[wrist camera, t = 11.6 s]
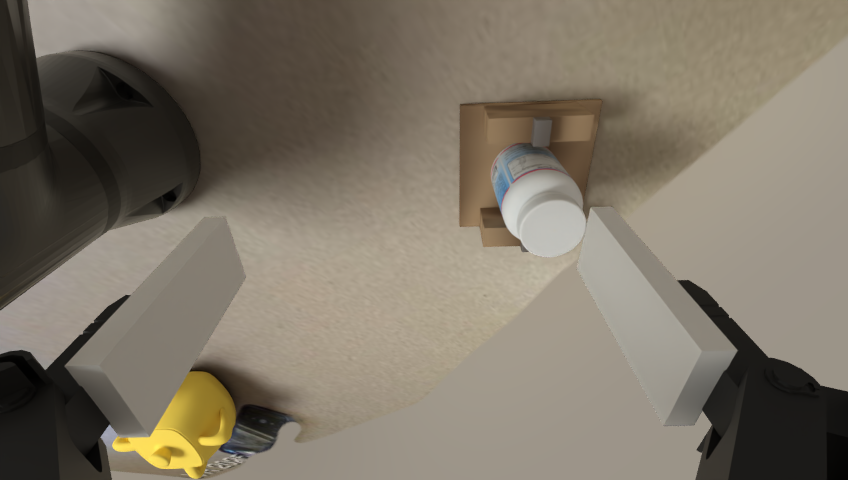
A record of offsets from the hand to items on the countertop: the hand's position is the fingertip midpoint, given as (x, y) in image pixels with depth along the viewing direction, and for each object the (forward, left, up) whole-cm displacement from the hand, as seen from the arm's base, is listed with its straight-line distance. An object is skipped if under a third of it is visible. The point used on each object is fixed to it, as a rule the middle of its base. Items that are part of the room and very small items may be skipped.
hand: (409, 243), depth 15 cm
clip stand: (+9, -6, -23) cm, 26 cm away
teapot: (-34, -38, -24) cm, 57 cm away
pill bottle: (+9, -7, -23) cm, 25 cm away
